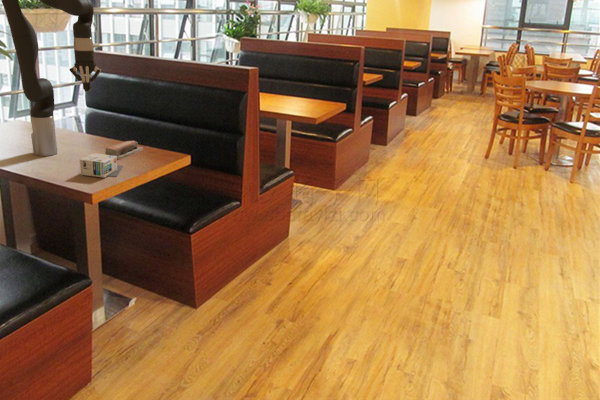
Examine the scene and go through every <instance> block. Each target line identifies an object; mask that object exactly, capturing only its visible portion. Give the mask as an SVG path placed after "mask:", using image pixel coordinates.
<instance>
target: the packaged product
mask: <svg viewBox="0 0 600 400" xmlns="http://www.w3.org/2000/svg"><path fill="white" fill-rule="evenodd" d="M143 150H144V147H141V146H138V142H137V141H135V140H126V141H122V142H120V143H117V144H115V145H111V146H108V147H106V148H105V152H104V153H103V154H104V155H112V156H117V160H122V159H124V157H125V158H127V157H130V156H132V155H135V154H137V153H139V152H141V151H143Z"/></svg>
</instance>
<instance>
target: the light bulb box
mask: <svg viewBox="0 0 600 400" xmlns="http://www.w3.org/2000/svg"><path fill="white" fill-rule="evenodd" d="M104 154H105V153H95V152H93V153H91V154H89V155H87V156H84V157H82V158H80V159H79V168H80V169H79V170H80V175H83V176H86V175H88V176H87V177H97V178H103V179H105V178H106V177H107V178H108V177H109V176H108V175H110V174H111V173H113V172H115V171H117V165H118V159H117V156H112V155H104Z"/></svg>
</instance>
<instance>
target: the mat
mask: <svg viewBox="0 0 600 400" xmlns="http://www.w3.org/2000/svg"><path fill="white" fill-rule="evenodd" d="M123 168H124V165H118V164H117V171H115V172H113V173H111V174H110V175H108V176H107V177H118V176H119V173H120V172H121V171H122V170H123ZM85 176H86V177H89V176H88V175H85Z"/></svg>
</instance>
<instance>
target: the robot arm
mask: <svg viewBox="0 0 600 400" xmlns="http://www.w3.org/2000/svg"><path fill="white" fill-rule="evenodd" d="M38 1H39V2H41V3H42V4H43V5H45V6H48V7H51V8H54V9H56V10H59V11H60V10H61V11H63V12H64V13H66V14H68V15H71V16H73V17H77V20H76V22H74V23H73V24H72V32H73V35H72V36H73V52H74V64H73V66H72V67H71V68H69V71H70V73H71V74H72V75H73V76H74V77H75V79H76V80H77V81H78V82H82V90H83V91H84V92H90V91H91V89H92V85H91V82H94V81H95V80H96V79H97V78H98V77H99V75H100V74H101V72H102V68H99V67H98V66H97V64H96V61H95V49H94V48H95V47H94V41H93V33H92V25H93V24H92V23H93V19H94V10H95V9H94V5H93V2H92V0H38ZM1 3H2V7H3V9H4V11H5V15H6V19H7V23H8V25H9V29H10V34H11V38H12V42H13V46H14V49H15V52H16V53H15V54H16V57H17V58H16V59H17V62H18V65H19V67H18V68H19V71H20V73H19V74H20V78H21V85H22V91H23V95H24V96H25V97H26V99H27V100H29V102H33V103H34V104H33V106H32V108H30V122H31V130H32V133H31V134H30V136H31V144H32V145H31V146H32V152H33V155H35V156H41V157H47V156H54V155H56V154H58V143H57V136H56V135H57V134H56V127H55V116H54V110H55V107H56V106H55V105H56V104H55V92H54V91H55V89H54V87H53V84H52V83H51V81H50V80H48V79H47V78H43V77H40V78H39V77H38V74H37V68H36V67H37V65H36V64H37V59H38V55H39V54H38V53H39V43H38V38H37V34H36V31H35V29H34V27H33V25H32V24H31V22H30V20H29V19H27V18H26V15H25V14H24V13H23V11H22V8H21V5H20V2H19V0H1ZM93 71H94V74H93V75H92V73H93ZM79 73H80V74H79Z"/></svg>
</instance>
